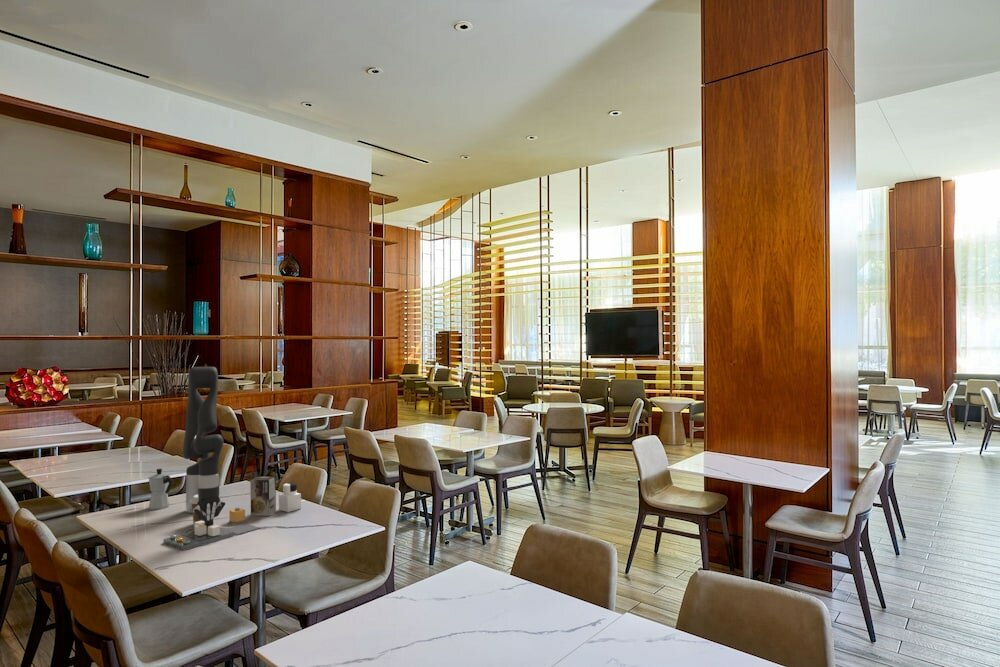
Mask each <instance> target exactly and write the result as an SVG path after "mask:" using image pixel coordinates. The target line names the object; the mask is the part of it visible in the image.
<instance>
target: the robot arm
mask: <svg viewBox="0 0 1000 667" xmlns="http://www.w3.org/2000/svg"><path fill="white" fill-rule="evenodd" d="M218 372H219V371H218V369H217V367H215V366H194V367H193V366H192V367H191V368H190V369H189V371H188V377H187V378H188V381H187V382H188V385H187V386H188V391H187V392H188V393H187V394H188V396H187V403H186V404H187V406H186V414H185V433H184V438H183V442H182V456H183V457H184V459H187V460H194V459H195V460H196V459H200V460H198V462H196V463H195V464H191V465H189V466H188V467H187V468H186V477H185V478H186V481H185V483H186V487H185V488H186V490H185V512H186V513H188V514H193V512H194V513H195V515H196V516H197V517H198V518H199V519H202V520H204V521H205V525H206V529H207V530H208V526H212V525H214V519H215V518H216V517H219V515H220V514H221V511H223V509H224V507H225V505H226V502H224V501H223V500H222V501H221V498H220V474H219V472H220V470H219V468H220V467H219V466H220V463H219V462H220V457H221V453H222V450H223V446H224V441H225V440H224V438H223V436H222V434H210V433H213V432H215V431H216V430H217V428H218V418H217V417H218V414H217V405H218V404H217V403H218V392H219V390H218V389H219V387H218V386H219V373H218ZM198 389H199V390H200V389H209V392H208V394H207V396H206V398H204V397H202V395H201V394H200V393H199V391H198ZM210 453H212V455H211V456H210ZM197 494H198V498H199V501H198V503H197V506H196V507H195V508H193V509H192V504H191V503H190V500H192V499H193V496H194V495H197ZM200 509H201V510H202V511H203V514H202V513H201V512H200ZM192 511H193V512H192Z"/></svg>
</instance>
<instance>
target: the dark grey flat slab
mask: <svg viewBox="0 0 1000 667" xmlns="http://www.w3.org/2000/svg"><path fill="white" fill-rule="evenodd" d="M227 529H228V528H224V527H220V535H216V536H210V535H208V530H207V529H206V534H204V535H201V536H198V535H195V529H194V530H190V531H188V532H183V533H181V534H172V535H170V536H169V537H166V538H163V540H162V541H163V544H165V545H168V546H171V547H173V548H175V549H178V550H180V551H187V550H191V549H194V548H196V547H200V546H204V545H208V544H210V543H213V542H217V541H220V540H223V539H224V540H225V539H228V538H232V537H234V536H235V534H234V532H233V531H230V530H227Z"/></svg>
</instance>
